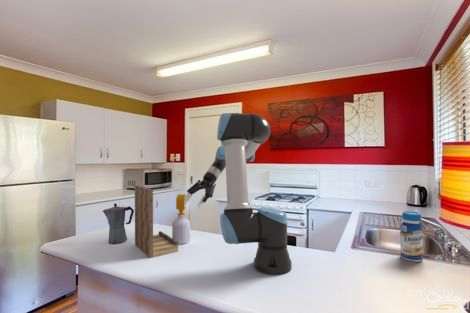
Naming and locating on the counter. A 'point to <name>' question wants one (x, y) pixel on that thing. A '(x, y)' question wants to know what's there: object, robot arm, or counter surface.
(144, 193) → the cleat shelf
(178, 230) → the soap bottle
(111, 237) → the moka pot
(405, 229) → the beverage bottle
